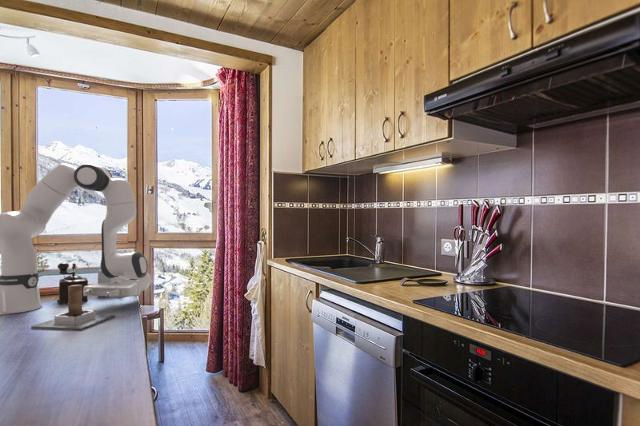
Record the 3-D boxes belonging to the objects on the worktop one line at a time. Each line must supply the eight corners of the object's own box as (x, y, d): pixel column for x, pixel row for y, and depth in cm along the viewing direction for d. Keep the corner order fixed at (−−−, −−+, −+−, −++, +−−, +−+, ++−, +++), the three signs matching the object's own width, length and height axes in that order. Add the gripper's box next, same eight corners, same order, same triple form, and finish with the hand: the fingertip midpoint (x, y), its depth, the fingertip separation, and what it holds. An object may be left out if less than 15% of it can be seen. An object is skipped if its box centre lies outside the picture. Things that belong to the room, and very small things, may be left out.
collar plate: (31, 328, 119) (31, 318, 119) (70, 315, 135) (70, 306, 135) (80, 330, 117) (80, 320, 117) (115, 317, 133) (115, 308, 133)
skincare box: (96, 296, 168) (97, 270, 168) (101, 294, 172) (101, 269, 172) (111, 296, 169) (111, 270, 169) (115, 294, 173) (115, 268, 173)
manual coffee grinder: (56, 300, 160) (57, 259, 161) (86, 297, 167) (86, 258, 167) (57, 307, 148) (57, 263, 148) (89, 303, 154) (89, 261, 155)
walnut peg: (65, 321, 124) (65, 286, 125) (74, 318, 128) (74, 284, 129) (75, 322, 124) (75, 287, 124) (85, 318, 128) (84, 284, 128)
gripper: (98, 279, 151) (71, 285, 137) (143, 279, 148) (120, 286, 135) (98, 294, 151) (71, 302, 137) (143, 295, 148) (120, 303, 134)
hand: (96, 294), depth 136 cm, fingers open, 8 cm apart
